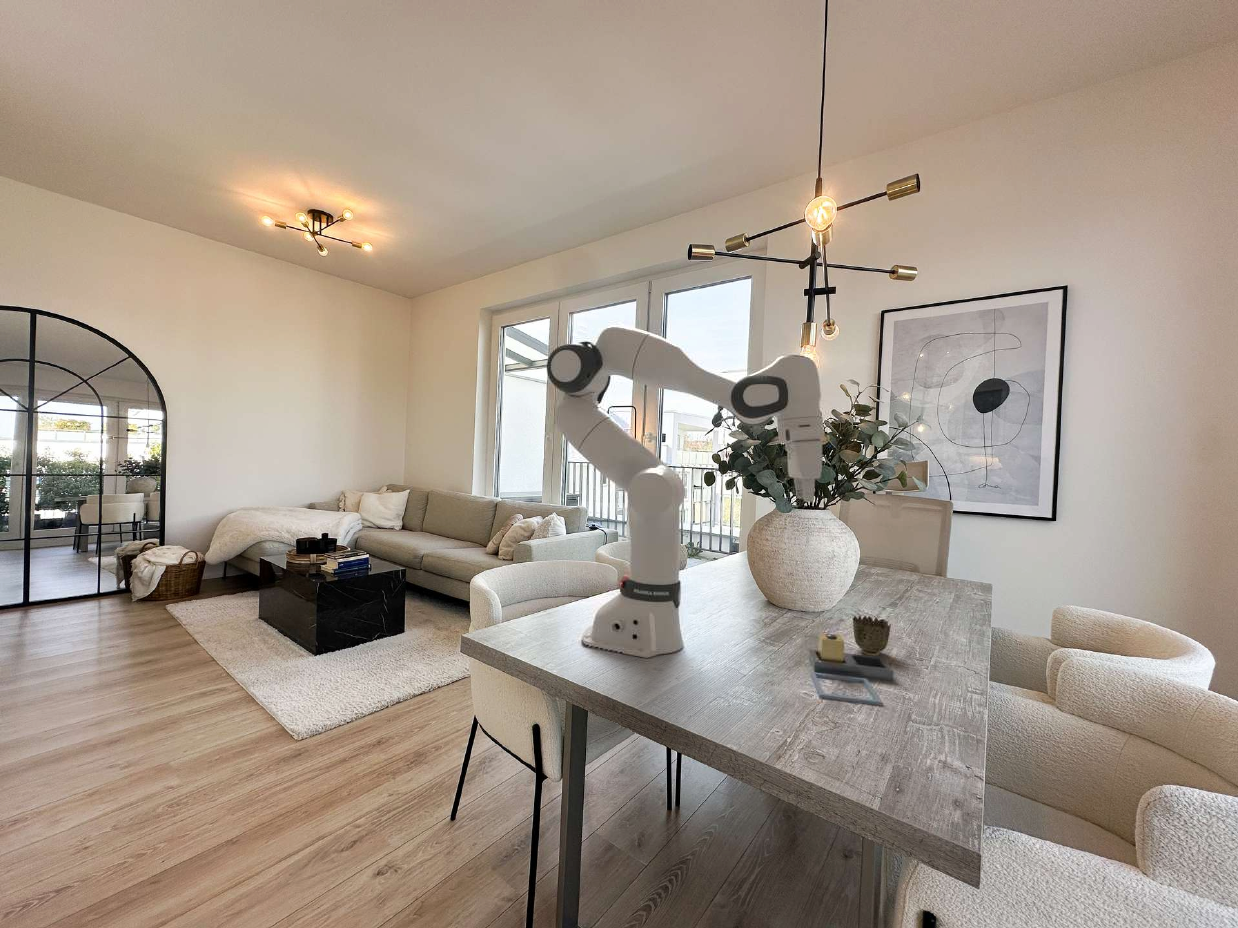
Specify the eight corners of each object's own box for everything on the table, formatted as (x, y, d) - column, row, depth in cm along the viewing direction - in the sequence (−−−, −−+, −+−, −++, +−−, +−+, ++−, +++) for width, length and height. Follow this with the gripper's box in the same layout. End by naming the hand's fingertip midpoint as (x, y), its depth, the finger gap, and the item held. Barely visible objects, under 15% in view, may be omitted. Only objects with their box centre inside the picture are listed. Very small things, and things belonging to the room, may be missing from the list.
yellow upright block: (821, 669, 100) (822, 637, 100) (817, 662, 104) (818, 631, 104) (842, 672, 99) (844, 640, 99) (838, 664, 103) (839, 633, 103)
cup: (894, 665, 106) (895, 627, 106) (856, 661, 108) (857, 623, 108) (883, 652, 114) (884, 617, 114) (847, 649, 115) (849, 613, 115)
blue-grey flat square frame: (819, 703, 87) (819, 694, 87) (809, 679, 97) (810, 671, 97) (882, 711, 85) (882, 702, 85) (866, 686, 95) (866, 678, 95)
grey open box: (814, 677, 98) (814, 661, 98) (808, 663, 105) (808, 649, 105) (892, 686, 96) (893, 670, 96) (881, 672, 102) (882, 657, 102)
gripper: (779, 437, 117) (783, 497, 116) (791, 431, 97) (796, 504, 96) (808, 435, 115) (812, 496, 115) (826, 429, 95) (831, 502, 95)
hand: (805, 500), depth 106 cm, fingers open, 8 cm apart
